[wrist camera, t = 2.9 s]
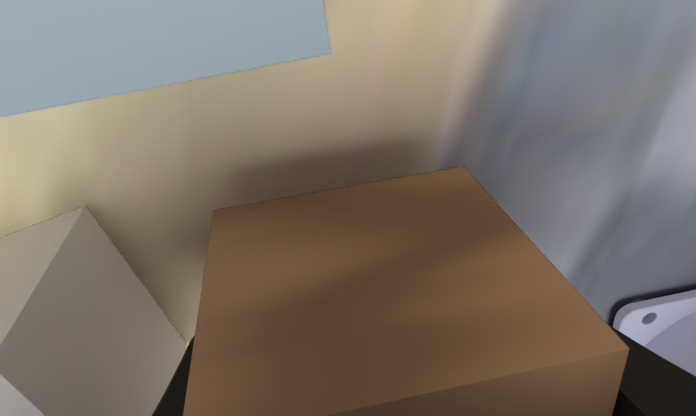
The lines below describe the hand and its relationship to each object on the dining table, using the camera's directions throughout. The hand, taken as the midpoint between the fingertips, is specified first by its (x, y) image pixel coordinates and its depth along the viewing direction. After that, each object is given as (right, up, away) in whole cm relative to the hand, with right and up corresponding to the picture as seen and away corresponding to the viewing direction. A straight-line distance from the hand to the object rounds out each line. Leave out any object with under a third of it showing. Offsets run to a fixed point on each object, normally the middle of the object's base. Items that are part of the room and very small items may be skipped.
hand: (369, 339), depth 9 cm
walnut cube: (0, +1, +1) cm, 2 cm away
